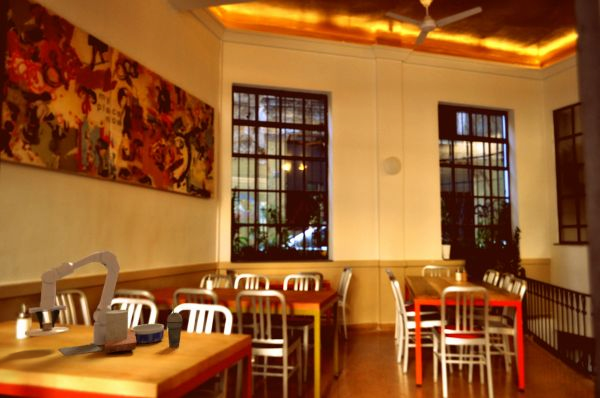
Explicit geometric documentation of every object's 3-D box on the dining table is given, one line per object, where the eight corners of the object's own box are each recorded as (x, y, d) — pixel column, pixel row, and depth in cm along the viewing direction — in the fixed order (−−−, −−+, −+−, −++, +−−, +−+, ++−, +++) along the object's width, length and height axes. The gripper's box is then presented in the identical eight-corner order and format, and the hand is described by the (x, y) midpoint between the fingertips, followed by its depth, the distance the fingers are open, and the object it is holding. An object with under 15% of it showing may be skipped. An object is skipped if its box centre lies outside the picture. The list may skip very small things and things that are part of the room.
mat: (94, 345, 212) (94, 343, 212) (102, 352, 200) (102, 350, 200) (58, 350, 203) (58, 348, 203) (64, 358, 191) (64, 355, 191)
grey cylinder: (131, 338, 206) (131, 311, 207) (109, 342, 200) (110, 314, 200) (123, 335, 213) (123, 308, 214) (102, 339, 207) (102, 311, 207)
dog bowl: (124, 340, 221) (124, 328, 222) (151, 334, 234) (151, 322, 234) (143, 345, 212) (143, 332, 212) (170, 338, 224) (170, 325, 225)
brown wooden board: (135, 334, 224) (135, 328, 224) (136, 350, 196) (136, 342, 196) (106, 337, 220) (106, 330, 220) (103, 353, 192) (103, 345, 192)
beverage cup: (177, 349, 206) (178, 304, 208) (163, 348, 208) (163, 303, 209) (185, 345, 213) (185, 302, 215) (170, 344, 215) (171, 301, 216)
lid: (69, 327, 214) (70, 319, 214) (66, 334, 198) (67, 325, 198) (28, 330, 207) (28, 321, 207) (21, 337, 192) (22, 328, 192)
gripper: (64, 294, 212) (63, 324, 211) (28, 297, 203) (27, 328, 202) (67, 296, 206) (66, 327, 205) (30, 299, 198) (29, 331, 196)
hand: (47, 327), depth 203 cm, fingers closed on lid, 4 cm apart
